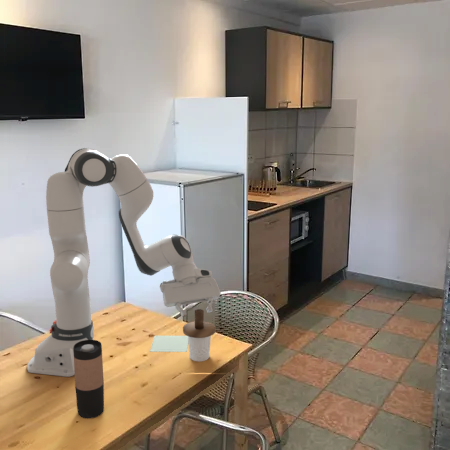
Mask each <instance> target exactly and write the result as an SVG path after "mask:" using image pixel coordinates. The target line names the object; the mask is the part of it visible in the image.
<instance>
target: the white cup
mask: <svg viewBox="0 0 450 450" xmlns="http://www.w3.org/2000/svg"><path fill="white" fill-rule="evenodd" d="M211 339H212V335H211V336H209V337H205V338H193V337H189V336H188V353H189V356H188V357H189V359H190V360H192V361H194V362H205V361H207V360H208V359H209V358H210V351H211V341H212V340H211Z"/></svg>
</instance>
